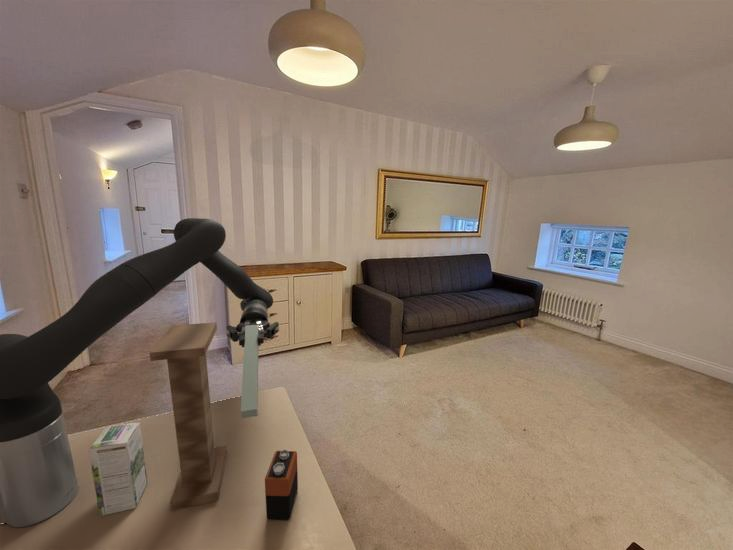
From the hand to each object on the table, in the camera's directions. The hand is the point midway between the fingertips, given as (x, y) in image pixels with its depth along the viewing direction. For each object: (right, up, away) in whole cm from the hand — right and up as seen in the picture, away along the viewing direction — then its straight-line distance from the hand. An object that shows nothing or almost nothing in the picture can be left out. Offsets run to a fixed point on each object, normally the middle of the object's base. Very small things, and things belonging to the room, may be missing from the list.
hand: (251, 342), depth 72 cm
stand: (-7, -26, -9) cm, 29 cm away
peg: (+1, -6, -2) cm, 6 cm away
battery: (+12, -28, -14) cm, 33 cm away
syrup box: (-19, -27, -14) cm, 36 cm away
